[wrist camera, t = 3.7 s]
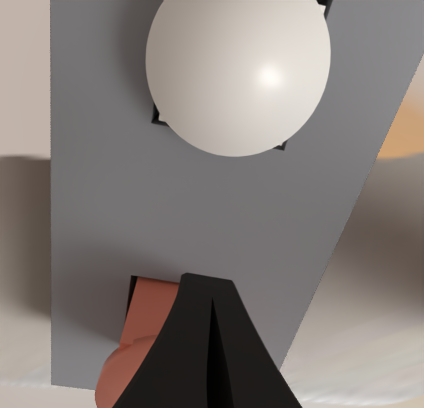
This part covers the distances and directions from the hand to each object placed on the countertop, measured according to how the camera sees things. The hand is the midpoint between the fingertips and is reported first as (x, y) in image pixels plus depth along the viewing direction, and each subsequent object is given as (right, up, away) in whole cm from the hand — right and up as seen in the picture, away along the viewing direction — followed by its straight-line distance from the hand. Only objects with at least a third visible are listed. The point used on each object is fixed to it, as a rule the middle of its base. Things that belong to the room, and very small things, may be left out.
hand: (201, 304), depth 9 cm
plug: (+1, +9, +6) cm, 11 cm away
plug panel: (0, +4, +8) cm, 9 cm away
